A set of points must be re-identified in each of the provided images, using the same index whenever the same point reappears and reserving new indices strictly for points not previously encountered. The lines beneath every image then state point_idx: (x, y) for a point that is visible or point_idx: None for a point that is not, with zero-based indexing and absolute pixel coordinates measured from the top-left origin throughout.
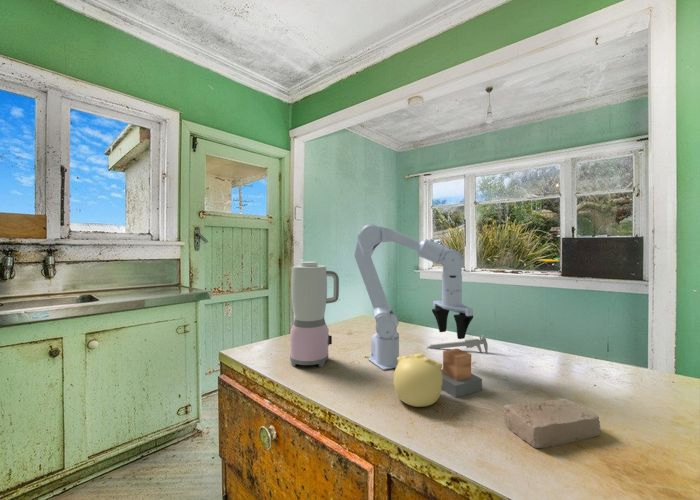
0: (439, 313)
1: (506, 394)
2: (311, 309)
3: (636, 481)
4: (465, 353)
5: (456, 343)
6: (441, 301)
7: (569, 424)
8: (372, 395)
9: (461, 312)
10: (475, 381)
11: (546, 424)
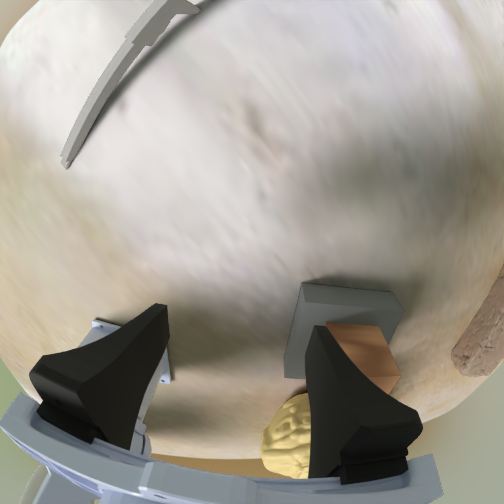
0: (127, 432)
1: (438, 261)
2: (93, 501)
3: None
4: (383, 384)
5: (113, 76)
6: (28, 445)
7: None
8: (255, 432)
9: (342, 490)
10: (393, 329)
11: (499, 361)
